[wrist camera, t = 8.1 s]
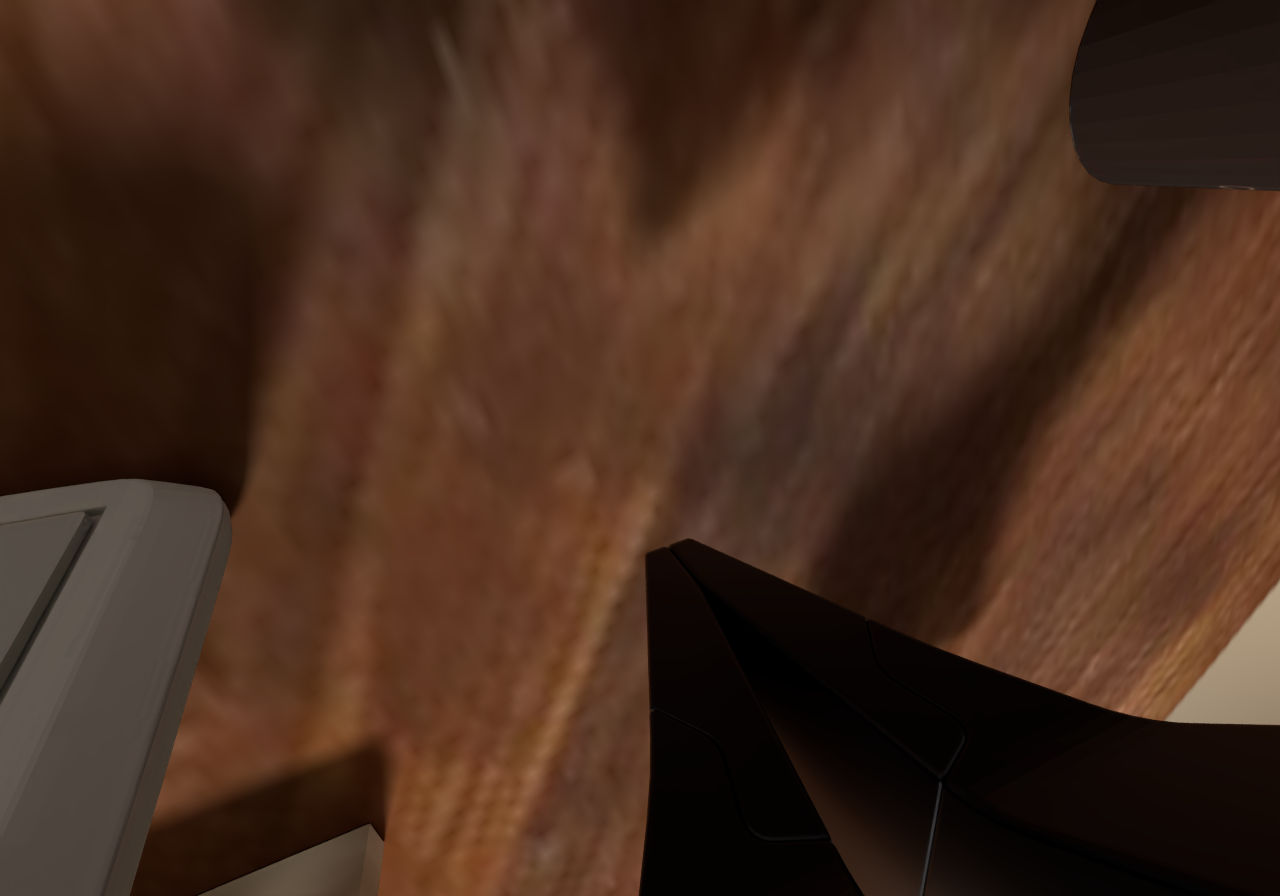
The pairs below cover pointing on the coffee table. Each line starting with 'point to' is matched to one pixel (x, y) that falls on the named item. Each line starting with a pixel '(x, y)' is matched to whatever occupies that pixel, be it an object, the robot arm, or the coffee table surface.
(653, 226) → the coffee table surface
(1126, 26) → the coffee mug
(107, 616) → the digital clock
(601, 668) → the coffee table surface
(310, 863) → the bay
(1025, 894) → the robot arm
